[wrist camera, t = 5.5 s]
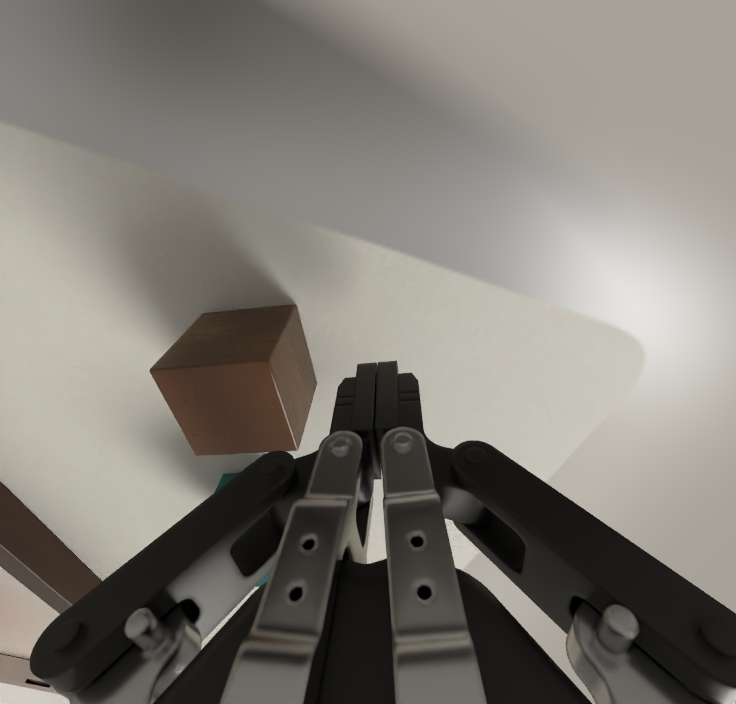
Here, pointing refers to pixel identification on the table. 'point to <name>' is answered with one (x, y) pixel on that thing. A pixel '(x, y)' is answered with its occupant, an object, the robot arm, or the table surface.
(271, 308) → the block walnut
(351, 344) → the table surface
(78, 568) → the rail
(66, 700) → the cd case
